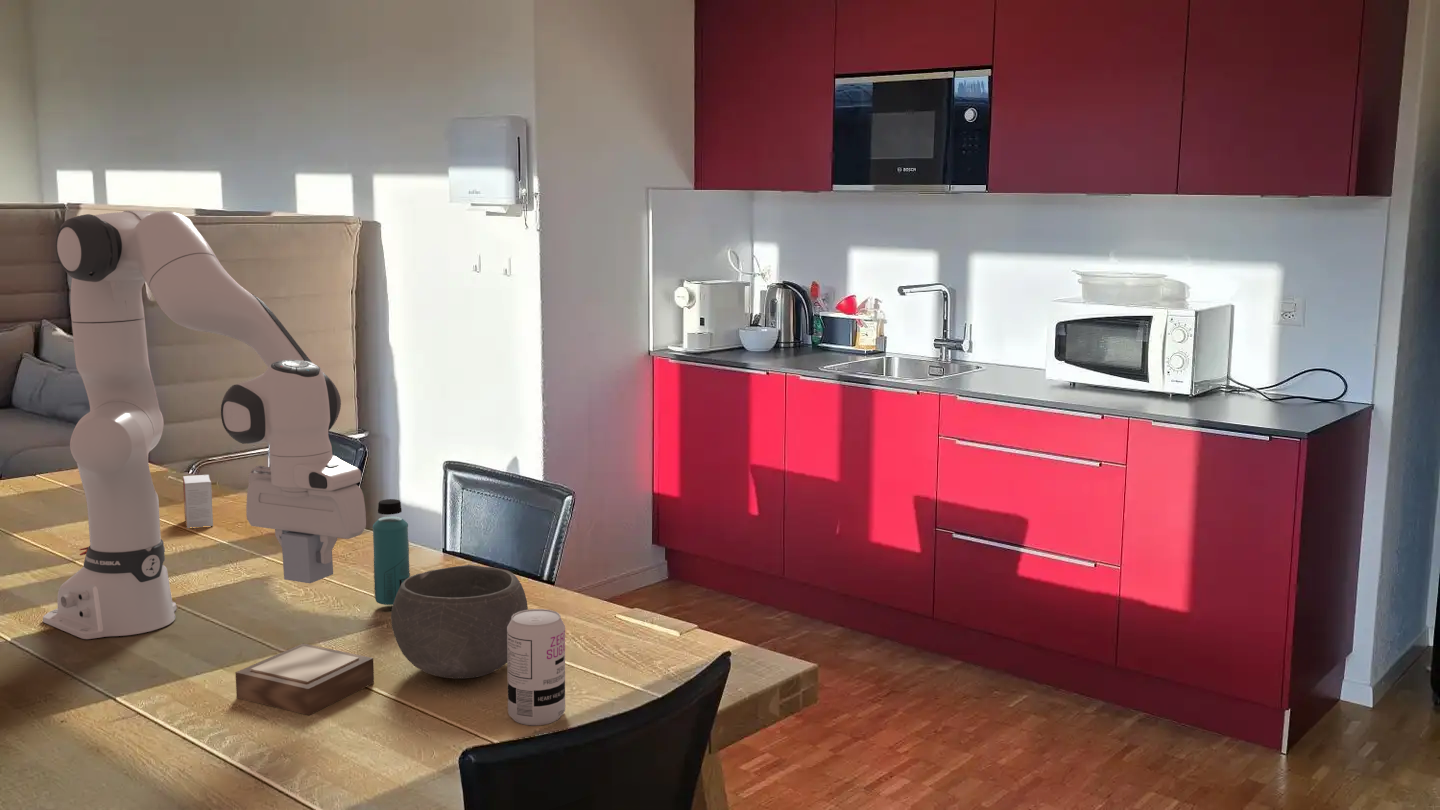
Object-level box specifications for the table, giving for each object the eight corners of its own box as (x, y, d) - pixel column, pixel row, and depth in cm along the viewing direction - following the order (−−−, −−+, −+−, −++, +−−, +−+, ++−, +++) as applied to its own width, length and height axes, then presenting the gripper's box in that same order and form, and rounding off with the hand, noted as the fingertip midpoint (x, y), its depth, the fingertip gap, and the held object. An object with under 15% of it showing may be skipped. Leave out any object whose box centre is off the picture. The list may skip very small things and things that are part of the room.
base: (236, 697, 189) (235, 670, 188) (304, 667, 202) (303, 641, 201) (309, 715, 183) (308, 687, 183) (373, 682, 196) (373, 656, 195)
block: (284, 579, 190) (281, 534, 189) (307, 570, 195) (304, 526, 193) (310, 583, 188) (307, 537, 187) (333, 574, 193) (330, 529, 191)
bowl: (463, 708, 187) (462, 610, 184) (363, 678, 198) (361, 585, 195) (555, 665, 204) (555, 575, 202) (459, 639, 215) (457, 554, 213)
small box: (184, 521, 289) (182, 475, 287) (211, 518, 291) (209, 473, 289) (186, 529, 281) (183, 483, 280) (213, 527, 284) (211, 481, 282)
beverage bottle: (401, 614, 228) (399, 505, 224) (367, 611, 229) (364, 503, 226) (417, 603, 234) (415, 497, 231) (383, 600, 235) (381, 495, 232)
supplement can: (510, 705, 188) (509, 607, 186) (566, 704, 189) (566, 607, 187) (505, 727, 180) (504, 626, 178) (564, 726, 181) (564, 625, 179)
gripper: (233, 468, 190) (239, 557, 192) (341, 480, 182) (346, 573, 184) (264, 460, 196) (269, 547, 198) (370, 471, 187) (374, 562, 190)
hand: (307, 560), depth 191 cm, fingers closed on block, 5 cm apart
